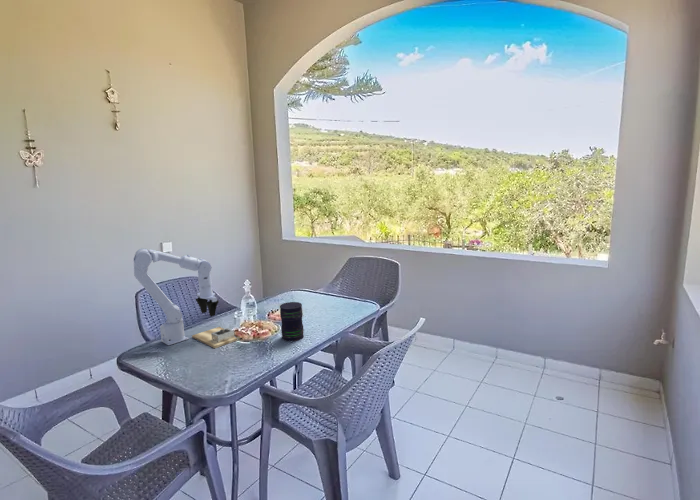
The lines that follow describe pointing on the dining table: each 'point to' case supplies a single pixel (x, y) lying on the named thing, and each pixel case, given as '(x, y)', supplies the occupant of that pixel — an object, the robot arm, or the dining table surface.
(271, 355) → the dining table surface
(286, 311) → the storage jar
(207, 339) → the board
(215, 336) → the grey tin box
